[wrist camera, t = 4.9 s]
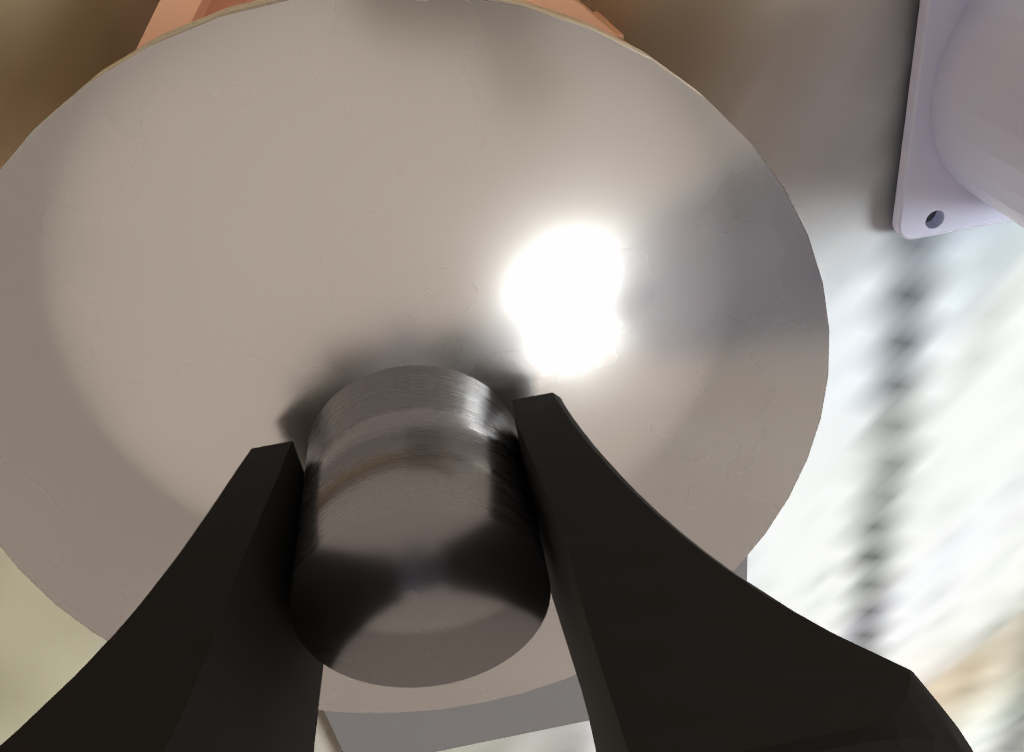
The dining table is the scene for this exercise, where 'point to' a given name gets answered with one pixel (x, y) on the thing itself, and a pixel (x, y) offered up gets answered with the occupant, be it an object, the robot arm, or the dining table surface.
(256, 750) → the robot arm
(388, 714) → the charcoal mat
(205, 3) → the terracotta bowl
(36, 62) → the dining table surface
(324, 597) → the steel lid
